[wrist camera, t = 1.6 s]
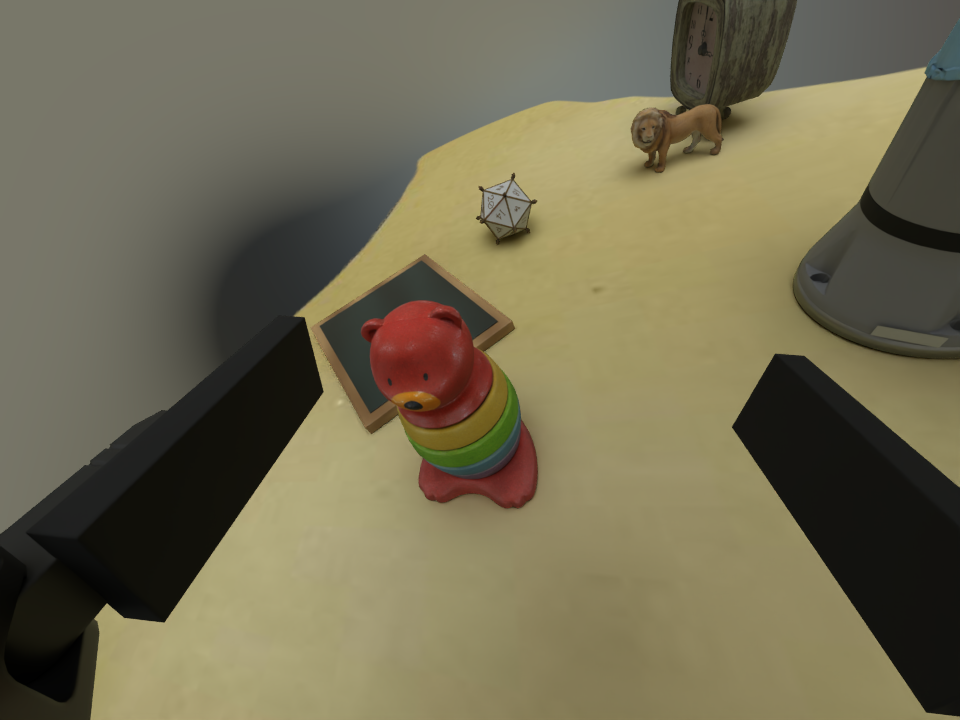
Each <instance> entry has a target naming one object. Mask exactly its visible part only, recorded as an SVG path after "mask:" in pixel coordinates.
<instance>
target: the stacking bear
mask: <svg viewBox="0 0 960 720" xmlns="http://www.w3.org/2000/svg"><path fill="white" fill-rule="evenodd" d="M361 335H362V337H363V338H364V339H365V340H367V341H368V342H370V343H371V348H370V364H371V370H372V374H373V377H374V380H375V382H376V384H377V386H378V388H379V390H380V391H381V393H382V394H383V395H384V396H385V397H386V398H387V399H388V400H389V401H390V402H392V403H393V404H395V405H396V406H397V411H398V415H399V418H400V420H401V423H402V425H403V427H404V430H405V433H406V435H407V437H408V439H409V441H410V442H411V444H412V446H413V447H414V448H415V450H416V451H417V452H418V454H419V455H420V456H422V457H423V460H422V463H421V467H420V473H419V487H420V489H421V490H422V491H424V494H425V496H426V498H427V499H429V500H437V502H447V501H449V500H451V499H453V498H455V497H457V496H459V495H463V494H468V493H475V494H481V495H484V496H487V497H488V498H490V499H491V500H493V501H494V502H495V503H496V504H498V505H499V506H501V507H503V508H510V507H516V508H520V507H522V506H523V505H524V504H525V502H526V501H529V500H530V499H531V498H532V497H533V495H534V493H535V490H536V485H537V473H538V470H537V457H536V452H535V447H534V444H533V441H532V438H531V436H530V434H529V431H528V429H527V428H526V426H525V425H524V423H523V422H522V420H521V413H520V406H519V401H518V398H517V394H516V391H515V389H514V387H513V385H512V384H511V382H510V380H509V379H508V377H507V376H506V375H505V373H504V372H503V371H502V370H501V369H500V368H499V366H498V365H497V364H496V363H495V362H494V361H493V360H492V359H491V358H490V357H489V356H488V355H487V354H486V353H484V352H483V351H481V350H479V349H478V348H475V347H474V346H473V341H472V336H471V334H470V331H469V329H468V327H467V325H466V323H465V322H464V321H463V319H462V318H461V316H460V314H459V312H458V311H457V310H456V309H454V308H453V307H450V306H444V305H442V304H440V303H437V302H433V301H426V300H418V301H412V302H408V303H406V304H403V305H401V306H399V307H398V308H396V309H394V310H393V311H392V312H390V313H389V314H388V315H387V316H386V317H385V318H384V319H377V318H374V319H371V320H368V321H367V322H366V323H365V324H364V325H363V326H362V329H361Z"/></svg>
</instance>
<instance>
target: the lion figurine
mask: <svg viewBox="0 0 960 720" xmlns="http://www.w3.org/2000/svg"><path fill="white" fill-rule="evenodd" d="M631 133H632V140H633V144H634V146H635V147H637V148H640V149H641V150H642V151H643V152H645V153H648V155H649V161H647V162H646V163H645V167H650V166H652V165H653V163H654V160H655V158H656V157H655V155H656V151H658V153H659V163H658V167H656V169H655V170H656V172H663V171H664V169H665V165H666V156H667V152H668V149H669V147H670V144H674V143H678V142H680V141H683V140H684V139H686V138H687V137H688V136H690V135H691V134H692V136H693V141H692V143H691V145H690V146H689V147H686V148H684V150H683V152H684V153H689V152H691V151H692V150H693V149H694V148H695V147H696V145H697V144H698V143H699V142H700V140H701V134H702V135H703V136H704V137H705V138H706V139H708V140H710V141H712V142H714V143H715V145H716V146H715V147H714V148H712V149H711V151H710V153H711V154H718V153H719V152H720V150H721V142H722V141H723V138H722V136H721V115H720V112H719V110H718V108H717V107H715V106H713V105H710V104H705V105H699V106H696V107H694V108H692V109H691V110H689V111H687V112H684V113H682V114H679V115H672V114H670V113H669V112H667V111H666V110H658V109H656V108H647V109H643V110H642V111H640V112H639V113H638V114H637V115H636V117H635V118H634V120H633V123H632V127H631Z"/></svg>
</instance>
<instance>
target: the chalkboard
mask: <svg viewBox="0 0 960 720" xmlns="http://www.w3.org/2000/svg"><path fill="white" fill-rule="evenodd" d="M418 300H426V301H433V302H437V303H440V304H442V305H444V306H450V307H453V308H454V309H456V310H457V311H458V312H459V314H460V316H461V318H462V319H463V321H464V322H465V323H466V325H467V327H468V329H469V331H470V334H471V336H472V341H473V346H474V347H475V348H478V349H479V350H481V351H483V352H484V351H485V350H486V349H488V348H489V347H490V346H492V345H493V344H495V343H496V342H497V341H499V340H500V339H501V338H503V337H504V336H505V335H507V334H508V333H510V332H511V331H512V330H514V325H513V322H512V320H510V319H509V318H508V317H507V316H505V315H504V314H503V313H501V312H500V311H499V310H497V309H496V308H495V307H493V306H492V305H491V304H489V303H488V302H487V301H486V300H484V299H483V298H482V297H480V296H479V295H478V294H476V293H475V292H474V291H472V290H471V289H470V288H468V287H467V286H466V285H465V284H463V283H462V282H461V281H459V280H458V279H457V278H455V277H454V276H453V275H451V274H450V273H449V272H447V271H446V270H445V269H444V268H442V267H441V266H440V265H438V264H437V263H436V262H434V261H433V260H432V259H430V258H429V257H428V256H427V255H425V254H424V255H423V256H421V257H420V258H418V259H417V260H415V261H413V262H412V263H410V264H409V265H407V266H406V267H404V268H403V269H401V270H399V271H398V272H396V273H395V274H393V275H392V276H390V277H389V278H387V279H385V280H384V281H382V282H381V283H379V284H378V285H376V286H374V287H373V288H371V289H370V290H368V291H367V292H365V293H364V294H362V295H360V296H359V297H357V298H356V299H354V300H353V301H351V302H349V303H348V304H346V305H345V306H343V307H342V308H340V309H339V310H337V311H335V312H334V313H332V314H331V315H329V316H328V317H326V318H325V319H323V320H321V321H320V322H318V323H317V324H315V325H314V326H312V327H311V330H312V332H313V333H314V335H315V337H316V339H317V341H318V342H319V344H320V346H321V348H322V350H323V352H324V353H325V355H326V357H327V359H328V361H329V363H330V364H331V366H332V368H333V370H334V372H335V374H336V375H337V377H338V379H339V381H340V383H341V385H342V386H343V388H344V390H345V392H346V394H347V396H348V397H349V399H350V401H351V403H352V405H353V406H354V408H355V410H356V412H357V414H358V416H359V417H360V419H361V421H362V423H363V425H364V427H365V428H366V429H367V430H368V431H369V432H370V433H371V434H372V433H373V432H375V431H376V430H377V429H379V428H380V427H381V426H383V425H384V424H386V423H387V422H388V421H390V420H391V419H392V418H394V417H395V416H396V415H398V411H397V406H396V405H395V404H393V403H392V402H390V401H389V400H388V399H387V398H386V397H385V396H384V395H383V394H382V393H381V391H380V390H379V388H378V386H377V384H376V382H375V380H374V377H373V374H372V370H371V364H370V348H371V343H370V342H368V341H367V340H365V339H364V338H363V337H362V335H361V329H362V326H363V325H364V324H365V323H366V322H367V321H368V320H371V319H374V318H377V319H384V318H385V317H386V316H387V315H388V314H389V313H390V312H392V311H393V310H394V309H396V308H398V307H399V306H401V305H403V304H406V303H408V302H412V301H418Z"/></svg>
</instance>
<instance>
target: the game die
mask: <svg viewBox="0 0 960 720" xmlns="http://www.w3.org/2000/svg"><path fill="white" fill-rule="evenodd" d="M514 178H515V174H514V173H513V174H512V177H511V180H508V181H505V182H503V183H500V184H498V185H495V186H493V187H490V188H487V189H485V190H484V189H483V188H482V186H479V190H481V191H483V195H482V205H481V215H480V216H477V218H476V219H477V220H479V219H482V220H480V223H482V224H483V223H485V224H486V225H487V227H488V228H489V229H490V230H491V232H492V233H493V234H494V235H495V237H496V238H497V240H496V244H497V245H498V244H499V242H500V241H499V239H502V238H504V237H507V236H510V235H512V234H515V233H518V232H520V231H523V230H526V231H527V233H530V229H528V228H527V223H528V218H529V214H530V209H531V205H532V204H536V202H537V200H532V201H531V200H530V199H529V198H528V197H527V195H526V194H525V193H524V192H523V191H522V189H521V188H520V187H519V186H518V185H517V183H516V182H515V181H514Z"/></svg>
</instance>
